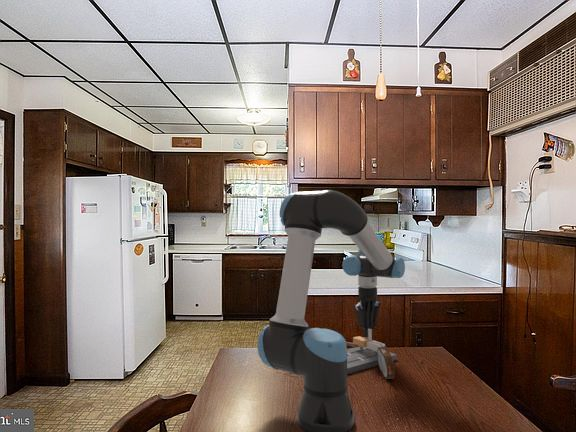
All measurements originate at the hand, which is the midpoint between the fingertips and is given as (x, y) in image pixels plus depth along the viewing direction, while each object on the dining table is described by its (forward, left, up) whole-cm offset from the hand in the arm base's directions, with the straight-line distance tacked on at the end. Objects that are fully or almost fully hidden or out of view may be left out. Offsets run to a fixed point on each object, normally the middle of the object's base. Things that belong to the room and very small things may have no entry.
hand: (367, 344), depth 153 cm
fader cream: (-2, -7, -1) cm, 7 cm away
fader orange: (-3, 0, -1) cm, 4 cm away
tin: (-9, -18, -4) cm, 21 cm away
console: (-10, -3, -4) cm, 12 cm away
